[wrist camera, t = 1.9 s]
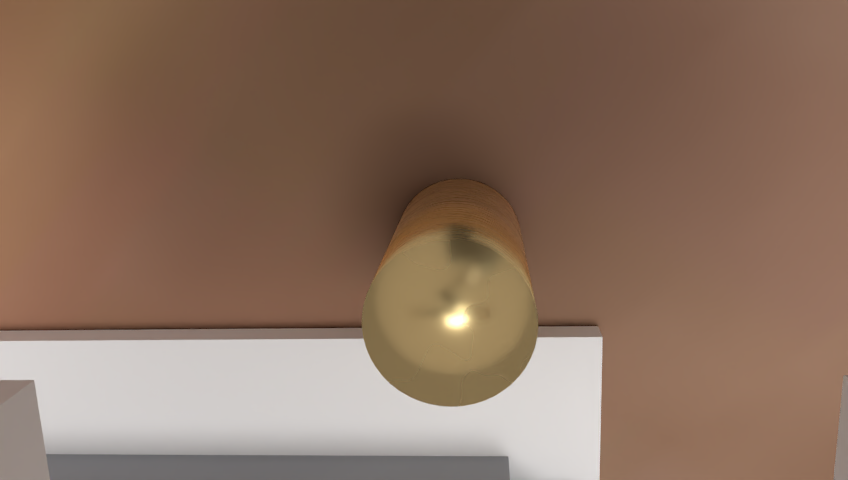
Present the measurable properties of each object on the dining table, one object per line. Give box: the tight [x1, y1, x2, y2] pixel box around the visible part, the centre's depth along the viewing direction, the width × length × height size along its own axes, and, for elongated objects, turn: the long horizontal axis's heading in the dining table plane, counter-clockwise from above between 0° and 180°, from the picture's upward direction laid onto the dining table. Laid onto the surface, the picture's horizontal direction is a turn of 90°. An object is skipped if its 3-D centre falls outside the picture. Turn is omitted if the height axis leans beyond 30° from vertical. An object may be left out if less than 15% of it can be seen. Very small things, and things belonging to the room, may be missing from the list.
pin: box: [362, 179, 538, 407], centre depth 22 cm, size 4×4×8 cm
